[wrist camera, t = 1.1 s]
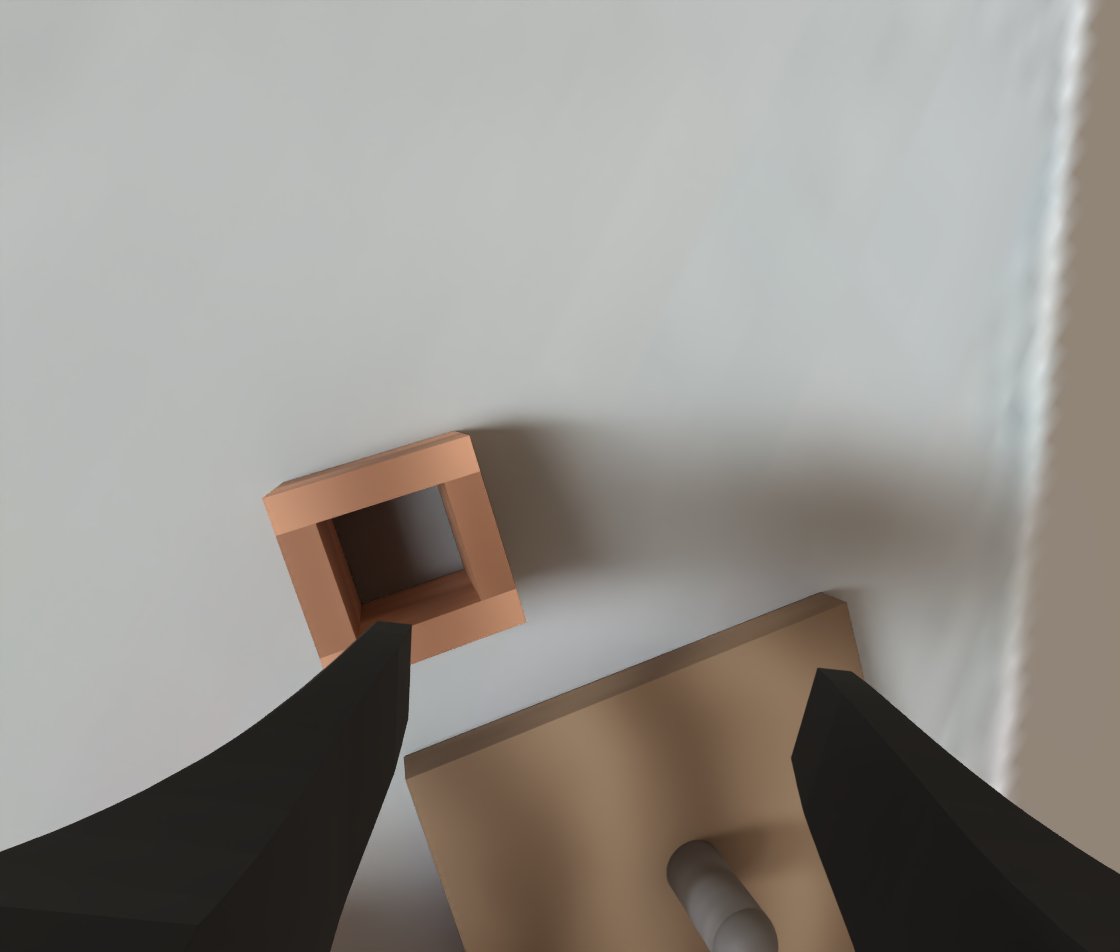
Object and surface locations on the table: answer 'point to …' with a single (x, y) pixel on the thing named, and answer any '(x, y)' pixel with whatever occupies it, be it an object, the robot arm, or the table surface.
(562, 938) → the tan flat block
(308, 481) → the hollow wooden block
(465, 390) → the table surface
